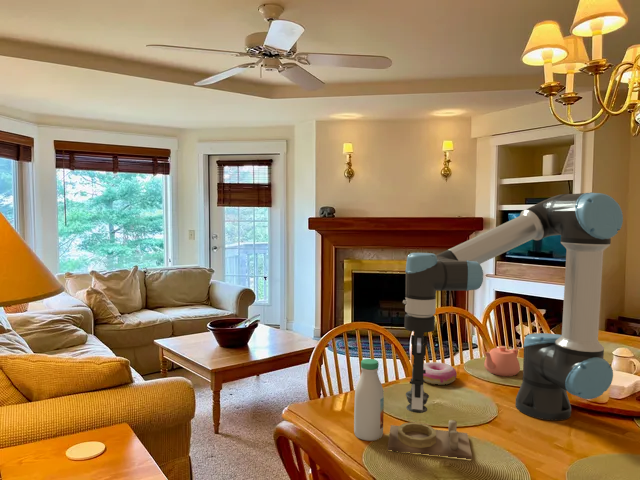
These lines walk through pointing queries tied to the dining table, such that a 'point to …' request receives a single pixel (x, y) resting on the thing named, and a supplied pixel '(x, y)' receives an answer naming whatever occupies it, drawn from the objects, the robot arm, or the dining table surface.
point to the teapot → (502, 361)
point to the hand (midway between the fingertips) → (417, 403)
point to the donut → (439, 373)
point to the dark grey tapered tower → (409, 398)
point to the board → (435, 448)
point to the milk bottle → (369, 403)
